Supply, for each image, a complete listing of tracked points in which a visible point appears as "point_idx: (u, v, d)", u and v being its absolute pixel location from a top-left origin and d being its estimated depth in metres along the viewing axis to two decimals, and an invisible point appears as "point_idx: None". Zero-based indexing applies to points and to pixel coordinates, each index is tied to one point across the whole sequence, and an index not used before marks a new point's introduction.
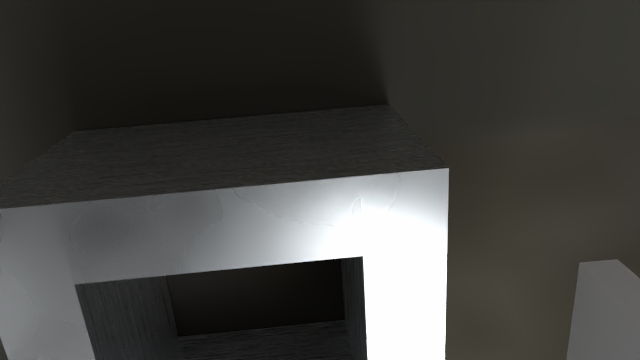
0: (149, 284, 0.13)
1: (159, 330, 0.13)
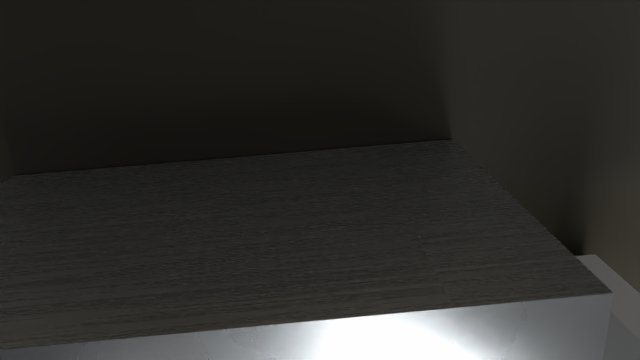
0: None
1: None
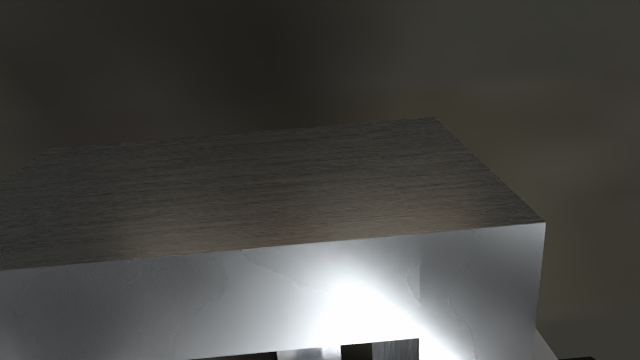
0: None
1: None
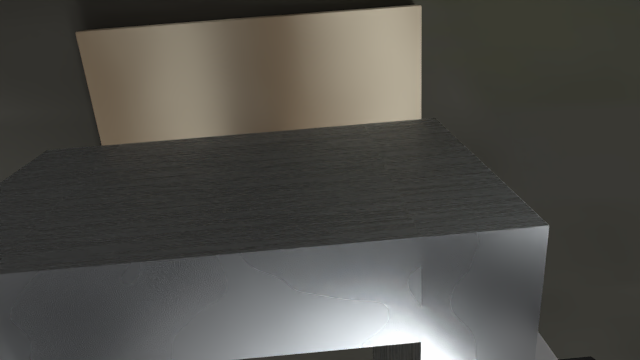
0: None
1: None
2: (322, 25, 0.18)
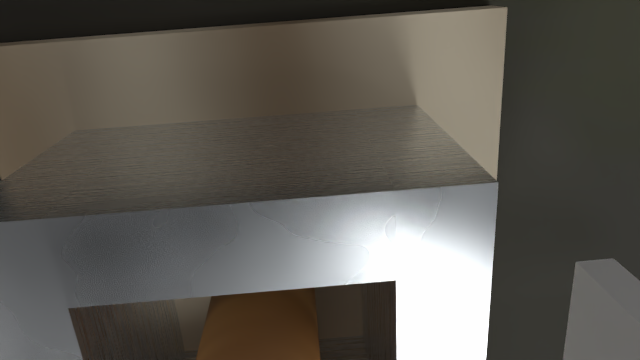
0: None
1: (164, 347, 0.12)
2: (351, 38, 0.11)
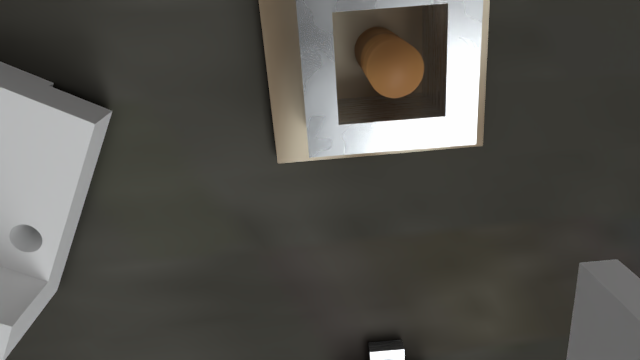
0: None
1: None
2: None
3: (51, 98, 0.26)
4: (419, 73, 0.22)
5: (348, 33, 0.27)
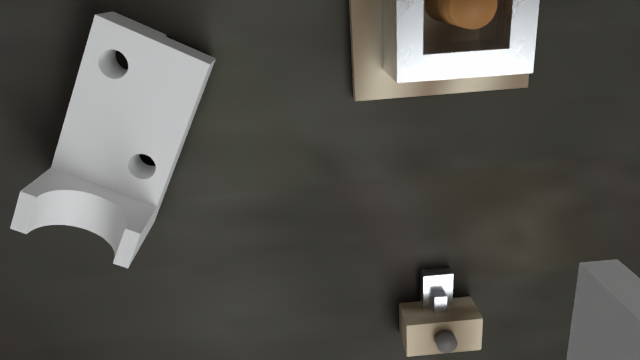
0: None
1: None
2: None
3: (171, 44, 0.31)
4: (493, 8, 0.27)
5: None
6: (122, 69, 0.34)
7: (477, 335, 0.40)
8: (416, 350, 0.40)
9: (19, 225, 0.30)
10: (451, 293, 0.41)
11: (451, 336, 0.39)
